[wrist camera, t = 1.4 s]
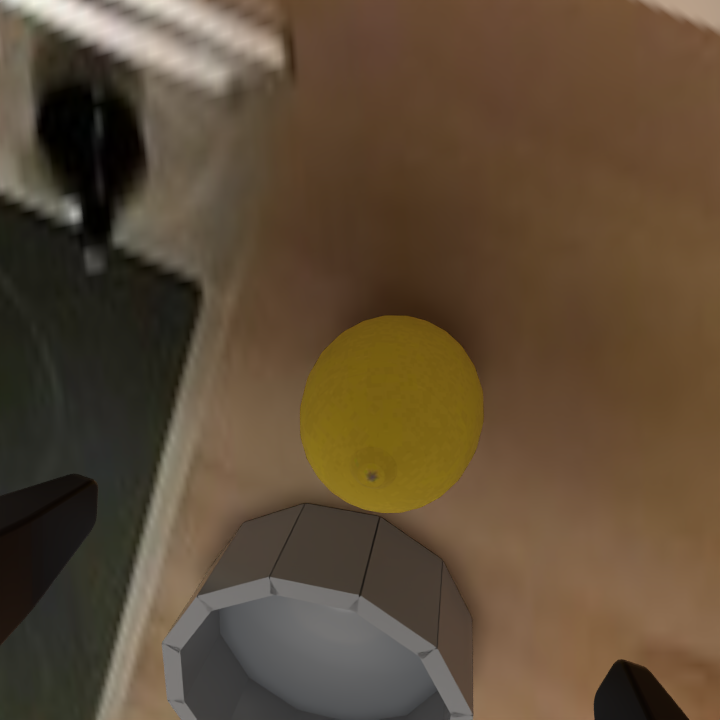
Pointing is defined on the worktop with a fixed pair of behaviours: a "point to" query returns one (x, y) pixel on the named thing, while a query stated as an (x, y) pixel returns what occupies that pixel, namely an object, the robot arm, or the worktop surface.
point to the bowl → (322, 626)
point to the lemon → (391, 414)
